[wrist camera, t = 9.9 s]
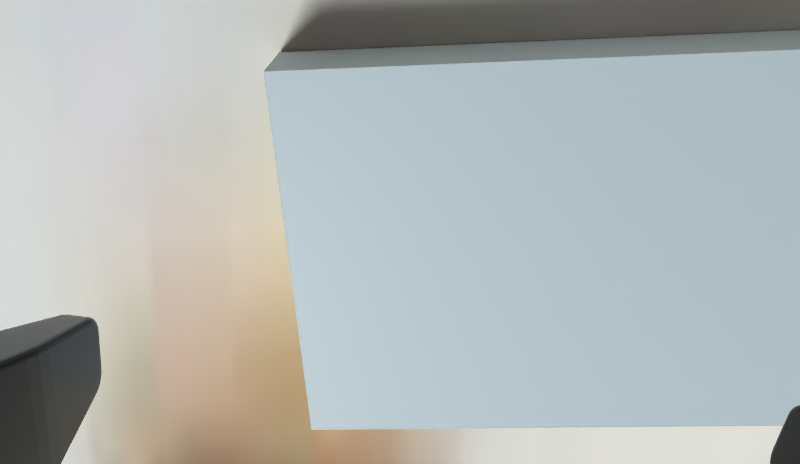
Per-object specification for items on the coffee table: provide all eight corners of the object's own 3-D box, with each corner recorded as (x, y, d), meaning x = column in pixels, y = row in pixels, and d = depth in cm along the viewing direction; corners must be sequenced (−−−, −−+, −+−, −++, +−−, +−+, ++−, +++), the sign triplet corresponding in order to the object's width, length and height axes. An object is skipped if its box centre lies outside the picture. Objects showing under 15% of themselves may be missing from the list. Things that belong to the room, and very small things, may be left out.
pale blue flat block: (320, 389, 25) (311, 431, 23) (279, 52, 20) (263, 71, 18) (794, 383, 24) (822, 426, 22) (871, 26, 19) (915, 45, 17)
